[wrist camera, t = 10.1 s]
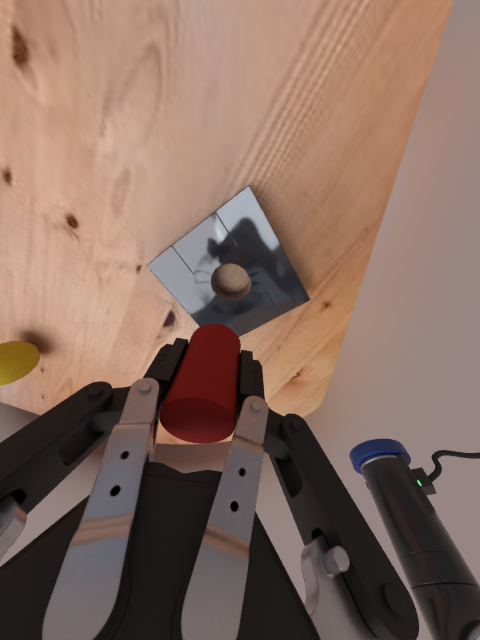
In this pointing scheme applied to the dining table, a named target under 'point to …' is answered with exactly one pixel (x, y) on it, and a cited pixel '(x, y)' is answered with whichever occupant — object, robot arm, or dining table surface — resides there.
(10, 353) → the lemon
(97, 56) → the dining table surface
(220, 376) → the stopper
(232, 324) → the grey square base
